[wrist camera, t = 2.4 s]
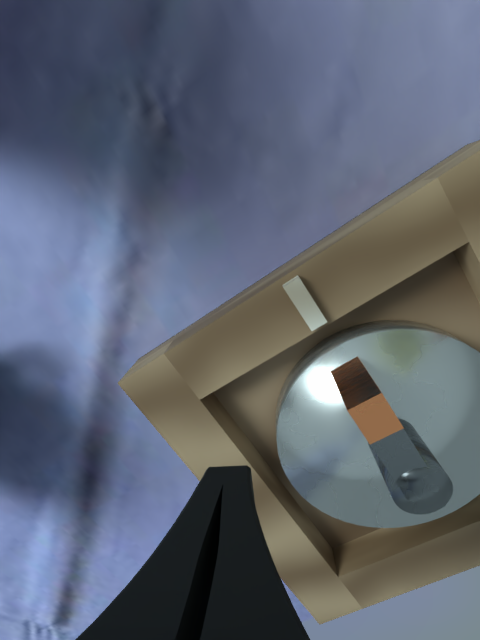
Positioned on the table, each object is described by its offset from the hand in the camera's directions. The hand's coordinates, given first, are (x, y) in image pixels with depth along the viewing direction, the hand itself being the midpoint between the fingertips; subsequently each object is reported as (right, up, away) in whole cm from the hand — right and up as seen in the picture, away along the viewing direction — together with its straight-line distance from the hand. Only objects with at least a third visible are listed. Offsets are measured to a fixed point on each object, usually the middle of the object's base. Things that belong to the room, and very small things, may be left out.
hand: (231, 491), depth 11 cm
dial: (+8, 0, +8) cm, 11 cm away
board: (+8, 0, +9) cm, 12 cm away
